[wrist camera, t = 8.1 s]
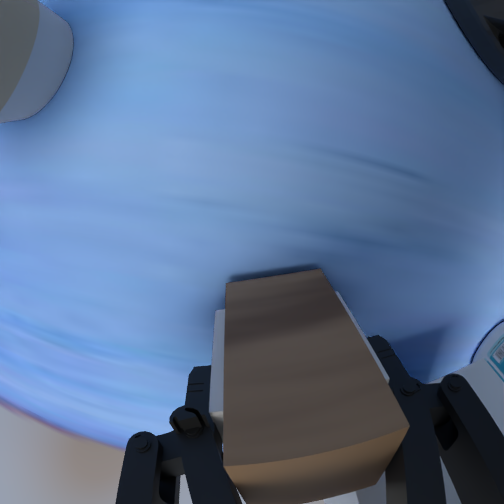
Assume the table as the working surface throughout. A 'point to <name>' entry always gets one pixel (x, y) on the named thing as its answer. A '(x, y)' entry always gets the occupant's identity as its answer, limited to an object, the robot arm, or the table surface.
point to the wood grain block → (301, 394)
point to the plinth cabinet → (374, 497)
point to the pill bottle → (493, 350)
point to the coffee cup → (31, 57)
